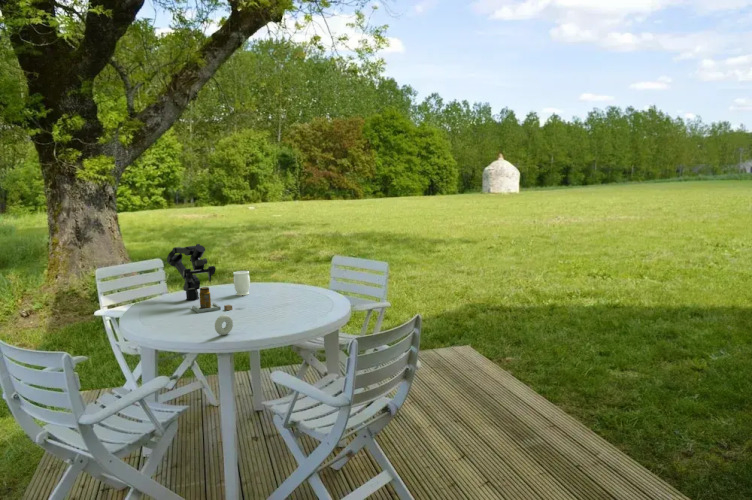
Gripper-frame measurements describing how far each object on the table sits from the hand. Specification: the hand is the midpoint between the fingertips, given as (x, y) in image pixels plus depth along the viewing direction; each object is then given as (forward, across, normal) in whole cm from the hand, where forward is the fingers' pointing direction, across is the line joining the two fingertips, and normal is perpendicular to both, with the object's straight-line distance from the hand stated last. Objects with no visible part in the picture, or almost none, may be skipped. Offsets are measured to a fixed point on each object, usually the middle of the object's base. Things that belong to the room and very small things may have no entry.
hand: (202, 282), depth 335 cm
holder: (+18, -2, +1) cm, 18 cm away
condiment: (+18, -2, +1) cm, 18 cm away
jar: (0, +28, +20) cm, 35 cm away
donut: (+62, -9, -42) cm, 75 cm away
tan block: (+25, +8, -6) cm, 27 cm away
